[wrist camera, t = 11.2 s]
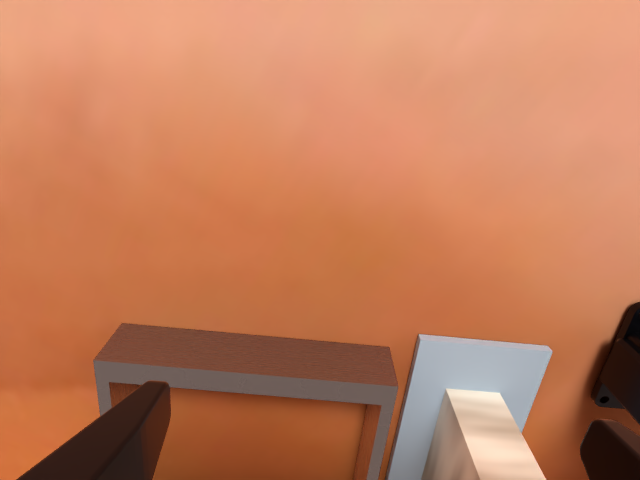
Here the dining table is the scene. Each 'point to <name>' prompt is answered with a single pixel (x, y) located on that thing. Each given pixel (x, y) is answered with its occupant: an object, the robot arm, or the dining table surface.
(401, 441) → the mat
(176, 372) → the rack
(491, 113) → the dining table surface
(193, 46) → the dining table surface
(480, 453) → the beige wooden block
